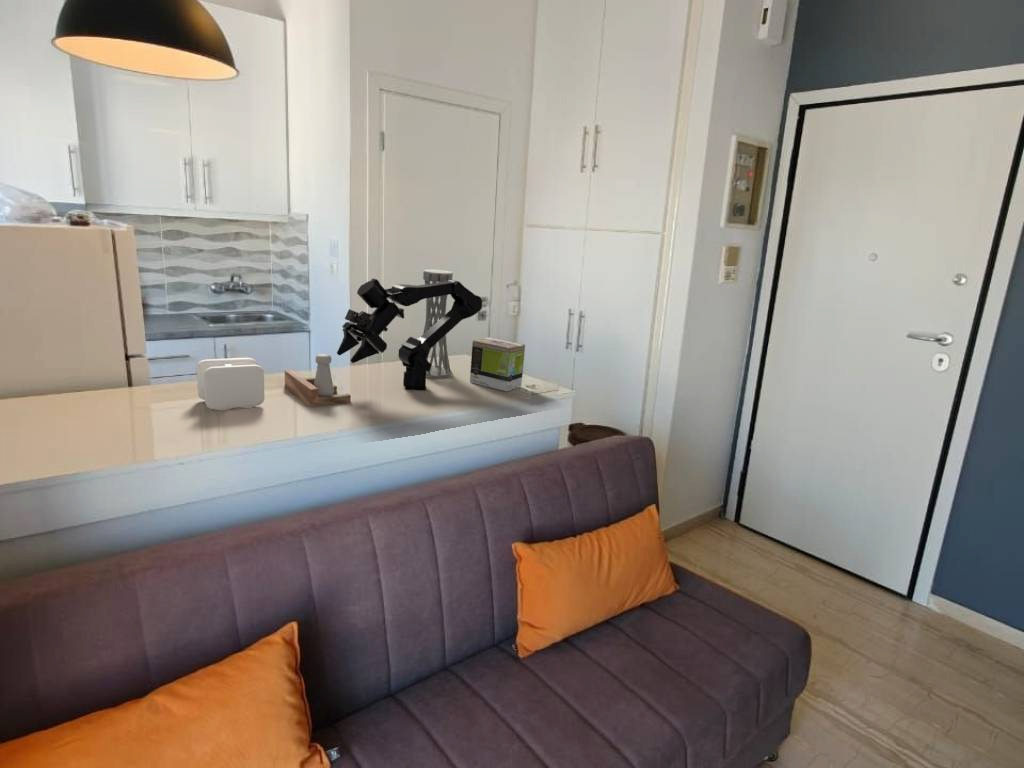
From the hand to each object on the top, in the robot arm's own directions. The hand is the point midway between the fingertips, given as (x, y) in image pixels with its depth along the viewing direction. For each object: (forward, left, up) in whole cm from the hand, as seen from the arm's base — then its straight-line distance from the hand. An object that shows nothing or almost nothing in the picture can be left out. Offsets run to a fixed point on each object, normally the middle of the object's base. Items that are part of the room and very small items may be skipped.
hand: (344, 358), depth 177 cm
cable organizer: (+29, +9, -12) cm, 32 cm away
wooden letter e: (+8, -1, -11) cm, 14 cm away
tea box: (-48, -17, -12) cm, 52 cm away
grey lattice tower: (-28, -29, -12) cm, 42 cm away
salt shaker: (+6, +3, -12) cm, 13 cm away
